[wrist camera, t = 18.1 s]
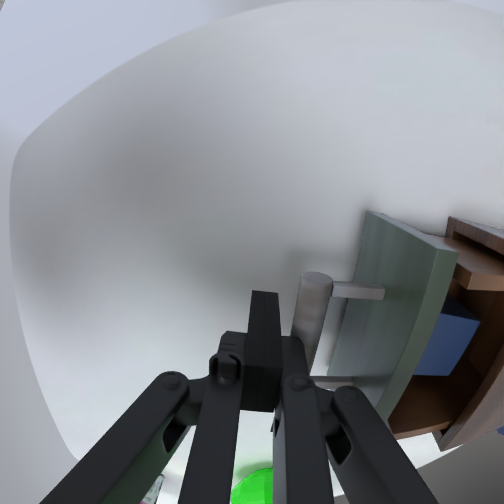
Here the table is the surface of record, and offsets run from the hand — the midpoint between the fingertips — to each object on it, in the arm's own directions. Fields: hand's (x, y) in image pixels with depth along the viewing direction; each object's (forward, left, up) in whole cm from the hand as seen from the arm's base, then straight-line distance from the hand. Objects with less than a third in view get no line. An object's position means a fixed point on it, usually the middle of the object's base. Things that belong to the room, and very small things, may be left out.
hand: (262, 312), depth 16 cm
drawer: (+4, +10, -2) cm, 11 cm away
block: (+4, +10, -1) cm, 11 cm away
